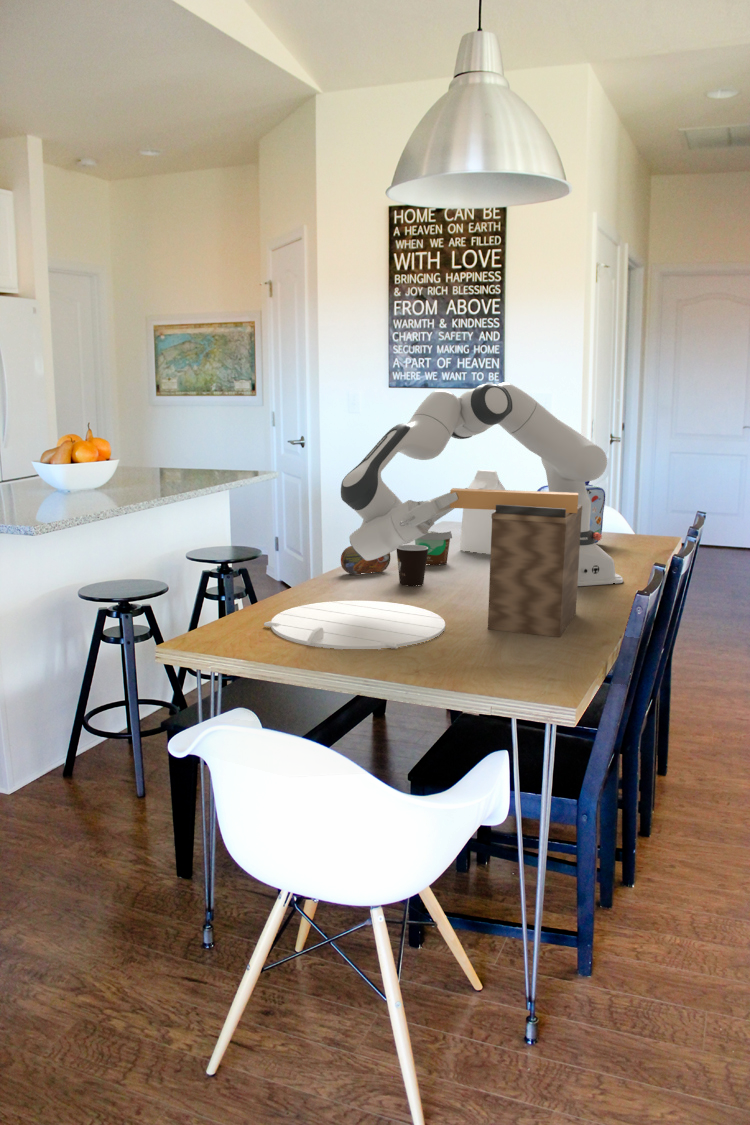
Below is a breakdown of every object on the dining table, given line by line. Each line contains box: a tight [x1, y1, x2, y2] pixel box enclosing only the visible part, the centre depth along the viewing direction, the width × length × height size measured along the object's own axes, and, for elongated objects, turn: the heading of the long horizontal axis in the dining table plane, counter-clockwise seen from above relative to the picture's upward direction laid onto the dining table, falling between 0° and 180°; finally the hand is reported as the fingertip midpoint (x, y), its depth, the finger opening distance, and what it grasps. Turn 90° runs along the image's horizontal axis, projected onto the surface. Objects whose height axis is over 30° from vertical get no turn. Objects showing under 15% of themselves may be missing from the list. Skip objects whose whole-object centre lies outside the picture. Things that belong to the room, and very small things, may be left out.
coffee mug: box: [396, 544, 428, 587], centre depth 249 cm, size 12×9×10 cm
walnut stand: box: [487, 504, 582, 638], centre depth 209 cm, size 16×23×28 cm
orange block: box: [449, 487, 578, 513], centre depth 204 cm, size 28×4×4 cm, turn 78°
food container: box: [414, 530, 453, 566], centre depth 275 cm, size 12×6×10 cm, turn 68°
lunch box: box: [536, 481, 606, 544], centre depth 308 cm, size 28×10×22 cm, turn 123°
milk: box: [459, 469, 506, 555], centre depth 297 cm, size 12×12×26 cm
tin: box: [340, 545, 391, 576], centre depth 261 cm, size 15×3×8 cm, turn 117°
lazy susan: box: [263, 600, 446, 650], centre depth 206 cm, size 40×39×3 cm
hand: (463, 493), depth 206 cm, fingers open, 8 cm apart
